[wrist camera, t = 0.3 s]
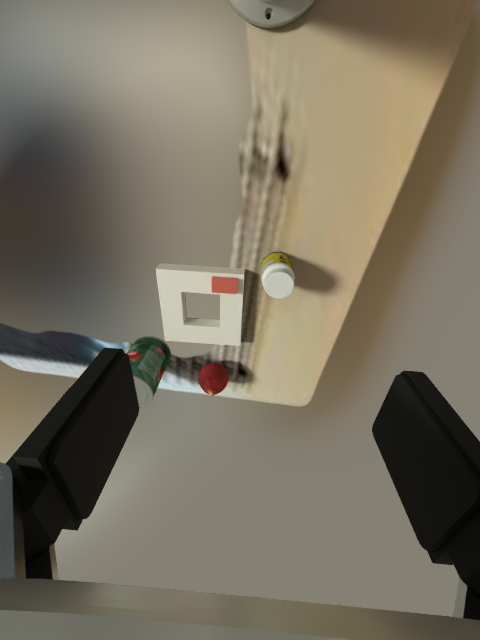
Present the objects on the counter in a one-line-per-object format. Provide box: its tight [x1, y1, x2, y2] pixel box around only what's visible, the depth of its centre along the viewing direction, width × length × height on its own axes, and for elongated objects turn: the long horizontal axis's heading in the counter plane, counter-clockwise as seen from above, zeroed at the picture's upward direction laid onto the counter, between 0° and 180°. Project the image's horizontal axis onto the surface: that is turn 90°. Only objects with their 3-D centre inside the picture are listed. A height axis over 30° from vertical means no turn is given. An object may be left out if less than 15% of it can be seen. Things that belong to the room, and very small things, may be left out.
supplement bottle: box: [261, 251, 295, 299], centre depth 39 cm, size 5×5×8 cm
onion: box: [198, 363, 228, 396], centre depth 52 cm, size 6×6×8 cm
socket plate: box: [156, 264, 245, 346], centre depth 46 cm, size 14×14×4 cm
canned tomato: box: [127, 336, 171, 408], centre depth 49 cm, size 8×8×11 cm
